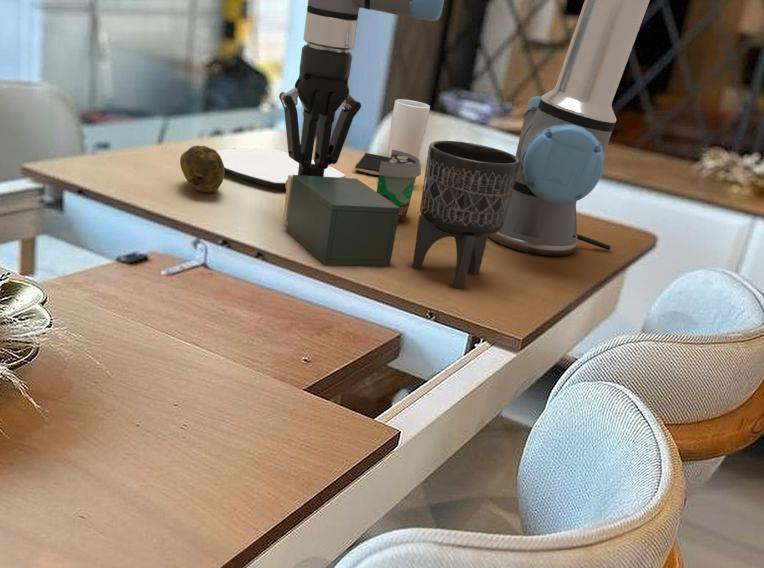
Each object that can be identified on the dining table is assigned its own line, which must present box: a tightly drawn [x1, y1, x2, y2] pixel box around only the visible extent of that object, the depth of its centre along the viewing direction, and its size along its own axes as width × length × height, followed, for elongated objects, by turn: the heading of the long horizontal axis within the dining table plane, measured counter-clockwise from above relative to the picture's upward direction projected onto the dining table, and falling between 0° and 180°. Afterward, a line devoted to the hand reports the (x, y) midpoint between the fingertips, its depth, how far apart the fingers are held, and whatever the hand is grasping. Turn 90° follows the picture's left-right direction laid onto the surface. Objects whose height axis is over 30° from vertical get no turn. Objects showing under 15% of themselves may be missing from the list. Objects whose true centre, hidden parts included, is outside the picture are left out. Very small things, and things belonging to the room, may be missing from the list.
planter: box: [412, 140, 520, 290], centre depth 145 cm, size 13×13×18 cm
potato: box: [179, 145, 226, 193], centre depth 166 cm, size 8×13×8 cm, turn 174°
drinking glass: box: [387, 98, 431, 160], centre depth 192 cm, size 7×7×15 cm
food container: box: [376, 150, 422, 224], centre depth 170 cm, size 12×6×10 cm, turn 168°
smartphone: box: [354, 152, 388, 176], centre depth 204 cm, size 7×1×15 cm
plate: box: [216, 148, 347, 189], centre depth 186 cm, size 23×23×2 cm
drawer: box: [282, 175, 293, 222], centre depth 155 cm, size 20×9×7 cm, turn 24°
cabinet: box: [286, 175, 400, 267], centre depth 151 cm, size 16×11×9 cm
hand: (306, 207), depth 161 cm, fingers closed
